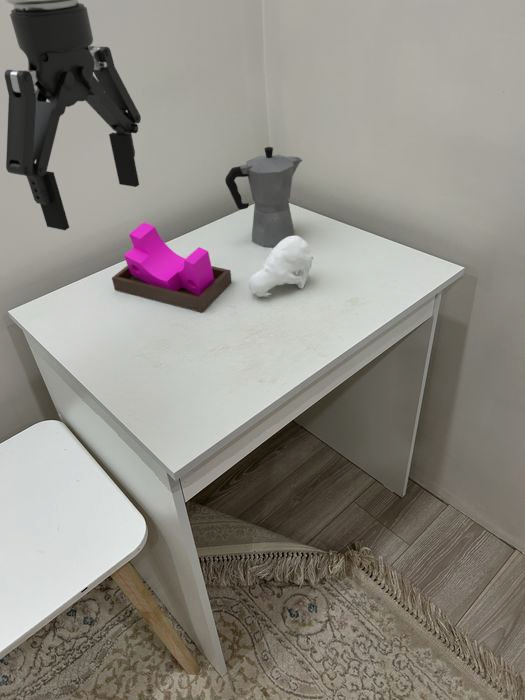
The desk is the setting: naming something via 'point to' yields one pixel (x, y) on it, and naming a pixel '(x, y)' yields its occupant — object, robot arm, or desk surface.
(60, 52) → the robot arm
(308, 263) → the white lumpy piece
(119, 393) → the desk surface
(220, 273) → the dark brown rectangular tray
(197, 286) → the magenta curved bracket
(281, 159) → the coffeepot
